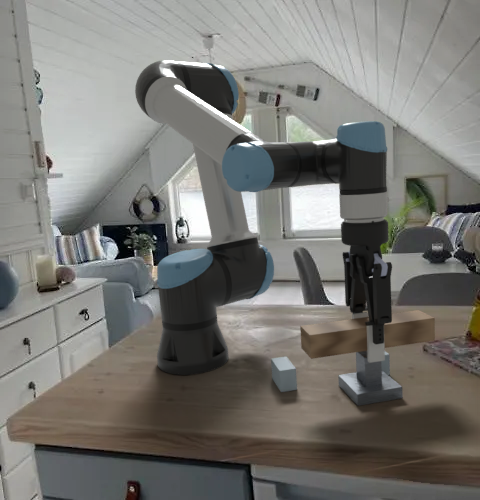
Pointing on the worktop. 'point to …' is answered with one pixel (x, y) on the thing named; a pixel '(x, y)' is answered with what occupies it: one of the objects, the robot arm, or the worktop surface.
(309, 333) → the plank
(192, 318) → the robot arm
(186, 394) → the worktop surface
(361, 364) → the fulcrum
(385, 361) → the posts
